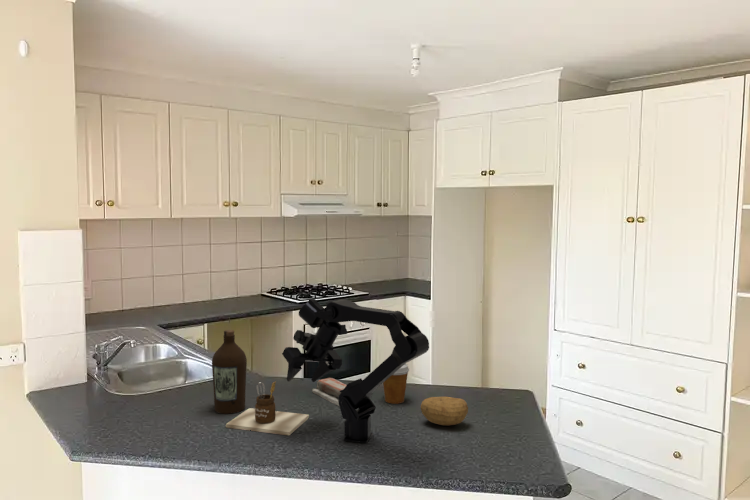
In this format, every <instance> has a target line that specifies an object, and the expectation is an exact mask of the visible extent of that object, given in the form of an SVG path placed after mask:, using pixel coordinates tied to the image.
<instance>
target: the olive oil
mask: <svg viewBox="0 0 750 500" xmlns="http://www.w3.org/2000/svg"><path fill="white" fill-rule="evenodd" d="M235 335H236V334H235V330H234V329H226V330H223V343H222V344H221V346H220V347H219V348H218V349H217V350H216V351H215V353H213V356H212V360H211V369H212V384H213V385H212V386H213V402H214V405H213V406H214V411H215V412H216V413H218V414H222V415H223V414H225V415H226V414H227V415H228V414H229V415H230V414H237V413H240V412H242V411H245V410H246V385H247V365H248V364H247V362H248V359H247V356H246V353H245V351H244V350H243V349H242V348H241V347H240V346H239V345H238V344H237V343H236V342H235V341H236V340H235V338H236V337H235ZM244 409H245V410H244Z"/></svg>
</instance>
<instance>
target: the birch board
mask: <svg viewBox="0 0 750 500" xmlns="http://www.w3.org/2000/svg"><path fill="white" fill-rule="evenodd" d="M309 418H310V414H304V413H298V412H297V413H296V412H288V411H279V410H277V411H276V416H275V420H274V421H273V422H271V423H265V424H262V423H258V422H256V420H255V407H253V408H252V407H251V408H250V407H249V408H248V409H245V410H243V412H242V413H240V414H238V415H237V416H236V417H235V418H233V419H231V420H230V421H228V422H227V423H225V428H227V429H235V430H243V431H250V430H251V431H252V432H257V433H258V432H260V433H268V434H274V435H281V436H282V435H283V436H291V434H293V433H294V432H295V431H296V430H297V429H298V428H300V427H301V426H302V425H304V423H305V422H306V421H307V420H309Z"/></svg>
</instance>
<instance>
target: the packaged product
mask: <svg viewBox="0 0 750 500" xmlns="http://www.w3.org/2000/svg"><path fill="white" fill-rule="evenodd" d="M346 385H347V384H345V383H343V382H341V381H339V380H338V379H335V378H333V377H327V378H322V379H318V380H317V381H316V388H312V389H311V390H312V394H315V395H316V396H318V397H320V398H322V399H324V400H326V401H328V402H330V403H332V404H333V405H335V406H337V407H340V406H339V402H338V396H339V394H340V393H341V392H340V390H343V389H344V388H345V387H346Z"/></svg>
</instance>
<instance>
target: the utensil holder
mask: <svg viewBox="0 0 750 500" xmlns="http://www.w3.org/2000/svg"><path fill="white" fill-rule="evenodd" d="M276 383H277V381H274V382H272V383H271V387H270V391H269V392H270V394H266V393H265V385H264V383H262V382H259V384H262V388H263V389H262V388H260V391H259V386H256V389H257V394H258V396H256V400H255V405H254V409H255V420H256V422H258V423H262V424H265V423H271V422H273V421H274V420H275V416H276V409H277V408H276V402H275V395H273V393H274V392H275V388H276ZM262 390H263V392H262ZM259 392H262V394H260V393H259Z"/></svg>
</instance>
